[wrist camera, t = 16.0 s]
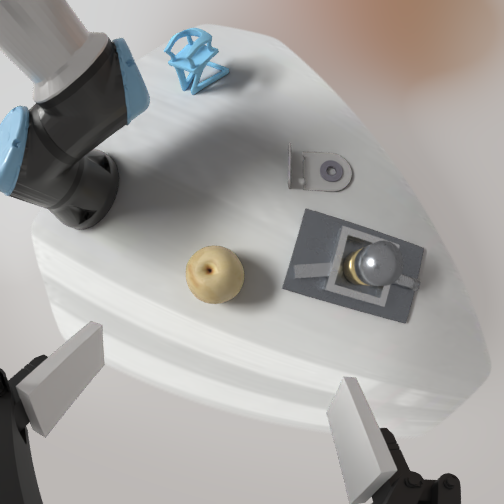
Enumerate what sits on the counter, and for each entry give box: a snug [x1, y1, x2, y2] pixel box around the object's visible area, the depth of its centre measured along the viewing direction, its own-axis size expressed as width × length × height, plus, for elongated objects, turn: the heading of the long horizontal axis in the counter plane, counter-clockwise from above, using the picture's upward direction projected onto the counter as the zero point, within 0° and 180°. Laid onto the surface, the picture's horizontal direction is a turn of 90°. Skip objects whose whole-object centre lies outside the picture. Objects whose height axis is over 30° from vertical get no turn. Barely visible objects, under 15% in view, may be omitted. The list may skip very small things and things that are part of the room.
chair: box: [164, 28, 229, 95], centre depth 40 cm, size 8×8×12 cm
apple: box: [186, 246, 244, 304], centre depth 38 cm, size 8×8×8 cm
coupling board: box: [282, 209, 424, 323], centre depth 38 cm, size 20×12×4 cm, turn 73°
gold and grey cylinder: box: [343, 241, 404, 286], centre depth 33 cm, size 5×5×10 cm
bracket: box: [288, 143, 352, 192], centre depth 40 cm, size 7×10×4 cm, turn 86°
